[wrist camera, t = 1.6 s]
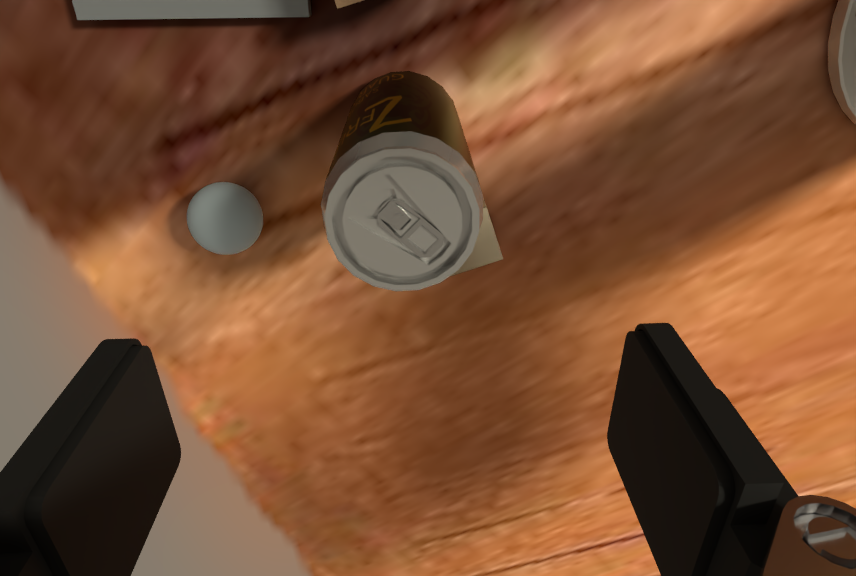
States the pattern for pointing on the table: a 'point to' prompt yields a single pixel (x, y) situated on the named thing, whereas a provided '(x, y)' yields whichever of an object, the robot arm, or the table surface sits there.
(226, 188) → the grey ball
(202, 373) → the table surface
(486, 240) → the beech block
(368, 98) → the beer can
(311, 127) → the table surface
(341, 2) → the tan cube
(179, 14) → the coaster
